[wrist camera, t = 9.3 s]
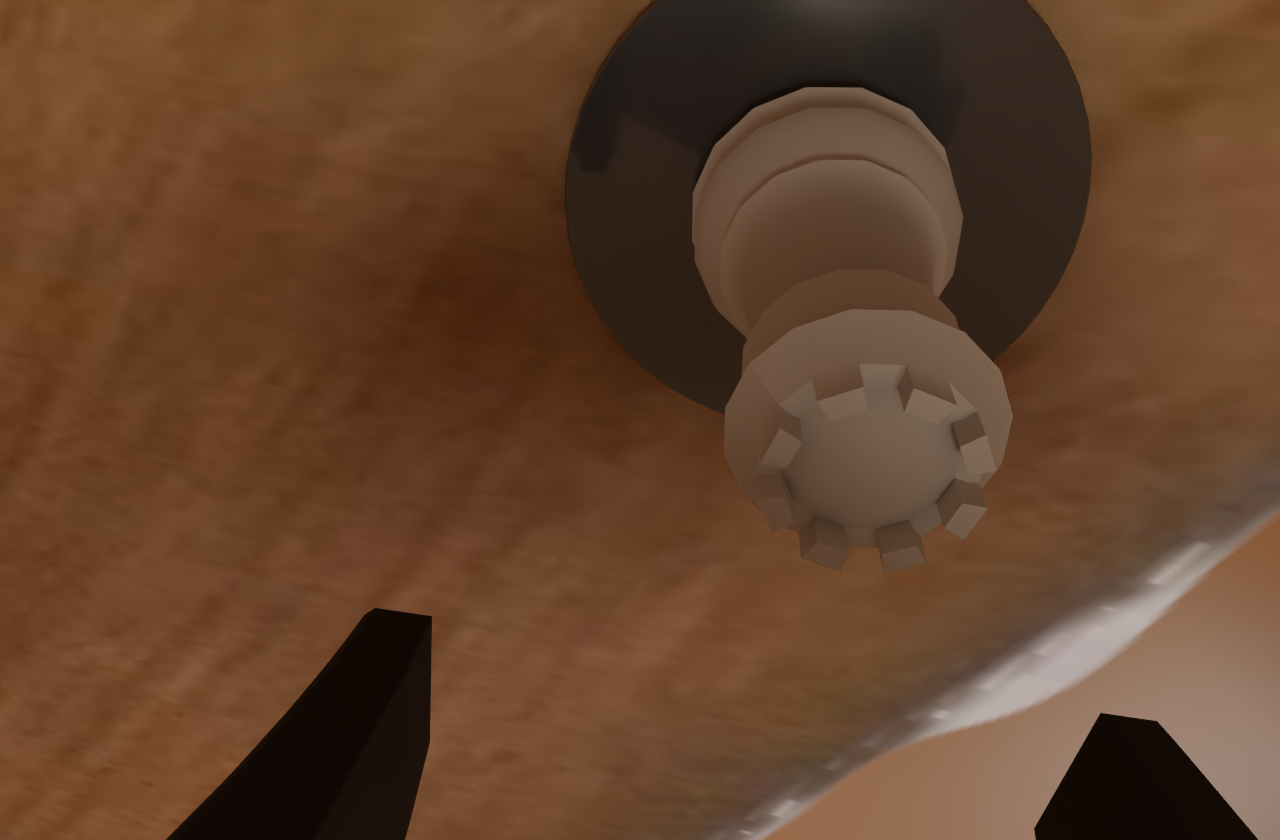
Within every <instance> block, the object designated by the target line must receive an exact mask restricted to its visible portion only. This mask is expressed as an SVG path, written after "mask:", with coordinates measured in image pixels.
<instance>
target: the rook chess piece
mask: <svg viewBox="0 0 1280 840" xmlns="http://www.w3.org/2000/svg"><path fill="white" fill-rule="evenodd" d="M962 222H963V214H962V210H961V206H960V203H959V199H958V195H957V191H956V188H955V184H954V180H953V177H952V173H951V169H950V166H949V163H948V159H947V155H946V152H945V148H944V147H943V146H942V145H941V143H940V142H939V141H938V140H937V139H936V138H935V137H934V135H933V134H932V133H931V132H930V131H929V130H928V129H927V127H926V126H925V125H924V124H923V123H922V122H921V120H920V119H919V118H918V117H917V116H916V115H915V114H914V112H913V111H912V110H911V109H909V108H907V107H904V106H902V105H900V104H898V103H895V102H893V101H891V100H889V99H886V98H884V97H882V96H879V95H877V94H875V93H873V92H870V91H868V90H866V89H864V88H839V87H805V88H803V89H800V90H798V91H795V92H793V93H790V94H788V95H785V96H783V97H780V98H778V99H775V100H773V101H770V102H768V103H765V104H763V105H760V106H758V107H755V108H753V109H752V110H751V111H750V112H749V113H748V114H747V115H746V116H745V117H744V118H743V119H742V120H741V121H739V122H738V123H737V124H736V125H735V126H734V127H733V128H732V129H731V130H730V131H729V132H728V133H727V134H726V135H725V136H724V137H723V138H722V139H720V140H719V141H718V142H717V143H716V144H715V145H714V147H713V149H712V151H711V153H710V156H709V158H708V160H707V162H706V164H705V167H704V169H703V171H702V173H701V176H700V178H699V180H698V182H697V184H696V187H695V189H694V191H693V217H692V242H693V244H694V246H695V263H696V266H697V268H698V270H699V273H700V275H701V277H702V280H703V282H704V284H705V287H706V289H707V291H708V294H709V296H710V298H711V301H712V303H713V305H714V306H715V308H716V309H717V310H718V312H719V313H720V314H722V315H723V316H724V317H725V318H726V319H727V320H728V321H729V322H730V323H731V324H732V325H733V326H734V327H735V328H736V329H737V330H738V331H740V332H741V333H742V334H743V335H744V336H745V337H746V338H747V341H746V343H745V345H744V347H743V362H742V378H741V379H740V381H739V383H738V385H737V387H736V389H735V390H734V392H733V394H732V396H731V398H730V400H729V402H728V403H727V405H726V407H725V426H724V451H723V454H724V456H725V458H726V460H727V462H728V464H729V467H730V469H731V471H732V473H733V475H734V477H735V480H736V482H737V484H738V486H739V488H740V490H741V493H742V494H743V495H744V496H745V497H746V498H747V499H748V500H750V501H751V502H752V503H753V504H754V505H755V506H757V507H758V508H759V509H760V510H761V511H762V512H763V514H764V516H765V518H766V520H767V523H768V525H769V527H770V529H771V531H772V533H773V532H775V531H777V530H780V529H782V528H784V527H786V528H788V529H791V530H794V531H796V532H799V538H800V549H801V558H803V559H806V560H809V561H811V562H814V563H817V564H820V565H822V566H825V567H828V568H831V569H833V570H836V571H839V572H840V571H841V569H842V566H843V564H844V561H845V559H846V556H847V554H848V552H847V546H855V547H879V550H880V555H881V561H882V566H883V571H884V574H885V573H889V572H893V571H897V570H901V569H905V568H909V567H913V566H917V565H921V564H925V563H927V560H926V556H925V552H924V548H923V544H922V540H921V536H922V535H924V534H926V533H927V532H929V531H930V530H932V529H933V528H935V527H937V526H938V525H940V524H941V523H943V527H944V529H946V530H948V531H949V532H951V533H953V534H954V535H956V536H958V537H959V538H961V539H963V540H964V539H965V538H966V537H967V535H968V534H969V533H970V532H971V530H972V529H973V528H974V526H975V525H976V524H977V523H978V521H979V520H980V519H981V517H982V516H983V515H984V514H985V512H986V511H987V510H988V509H989V508H988V505H987V502H986V499H985V496H984V494H983V491H982V489H983V487H984V486H985V485H986V483H987V482H988V481H989V479H990V478H991V477H992V476H993V474H994V473H995V472H996V471H997V469H998V468H999V466H1000V465H1001V464H1002V462H1003V458H1004V453H1005V449H1006V445H1007V440H1008V436H1009V432H1010V427H1011V423H1012V418H1013V414H1012V411H1011V407H1010V403H1009V400H1008V396H1007V392H1006V389H1005V385H1004V381H1003V378H1002V374H1001V370H1000V369H999V368H998V367H997V366H996V365H995V364H994V363H993V362H992V361H991V360H990V358H989V357H988V356H987V355H986V354H985V353H984V352H983V351H982V350H981V349H980V348H979V347H978V346H977V345H976V344H975V343H974V341H973V340H972V339H971V338H970V337H969V336H968V335H967V334H966V333H965V332H963V331H960V330H959V327H958V324H957V320H956V317H955V315H954V314H953V313H952V312H951V311H950V310H949V309H948V308H947V307H946V306H945V305H944V304H943V303H942V302H941V301H940V300H939V298H938V297H939V296H940V294H941V293H942V291H943V290H944V288H945V287H946V285H947V283H948V282H949V280H950V279H951V277H952V276H953V272H954V268H955V263H956V257H957V251H958V245H959V240H960V234H961V228H962Z"/></svg>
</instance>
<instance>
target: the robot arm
mask: <svg viewBox="0 0 1280 840" xmlns="http://www.w3.org/2000/svg"><path fill="white" fill-rule="evenodd" d="M431 637H432V616H426V615H419V614H412V613H406V612H399V611H392V610H385V609H378V608H375V609H373V610H371V611H370V612H368V613H366V614H365V615H364V616H363V617H362V619H361V620H360V622H359V623H358V624H357V626H356V627H355V628H354V630H353V631H352V632H351V634H350V635H349V636H348V638H347V639H346V640H345V642H344V643H343V644H342V646H341V647H340V648H339V649H338V651H337V652H336V653H335V655H334V656H333V657H332V658H331V660H330V661H329V662H328V663H327V665H326V666H325V667H324V668H323V670H322V671H321V672H320V673H319V674H318V676H317V677H316V678H315V679H314V681H313V682H312V683H311V684H310V685H309V686H308V688H307V689H306V690H305V691H304V692H303V694H302V695H301V696H300V697H299V698H298V699H297V701H296V702H295V703H294V704H293V705H292V707H291V708H290V709H289V710H288V711H287V712H286V714H285V715H284V716H283V717H282V718H281V719H280V720H279V721H278V722H277V724H276V725H275V726H274V727H273V728H272V729H271V730H270V731H269V732H268V734H267V735H266V736H265V737H264V738H263V739H262V740H261V741H260V742H259V744H258V745H257V746H256V747H255V748H254V749H253V750H252V751H251V752H250V754H249V755H248V756H247V757H246V758H245V759H244V760H243V761H242V762H241V764H240V765H239V766H238V767H237V768H236V769H235V770H234V771H233V772H232V773H231V774H230V775H229V776H228V777H227V778H226V780H225V781H224V782H223V783H222V784H221V785H220V786H219V787H218V788H217V789H216V790H215V791H214V792H213V793H212V794H211V795H210V796H209V797H208V798H207V799H206V800H205V801H204V802H203V803H202V804H201V805H200V806H199V807H198V808H197V809H196V810H195V811H194V812H193V813H192V814H191V815H190V816H189V817H188V818H187V819H186V820H185V821H184V822H183V823H182V824H181V825H180V826H179V827H178V828H177V829H176V830H175V831H174V832H173V833H172V834H171V835H170V836H169V837H168V838H167V839H166V840H405V837H406V834H407V830H408V826H409V823H410V819H411V815H412V811H413V807H414V803H415V799H416V795H417V792H418V788H419V784H420V779H421V775H422V771H423V767H424V763H425V759H426V755H427V751H428V747H429V743H430V700H431ZM1034 830H1035V836H1036V840H1258V839H1257V838H1256V837H1255V835H1254V834H1253V833H1252V832H1251V831H1250V829H1249V828H1248V827H1247V826H1246V825H1245V823H1244V822H1243V821H1242V820H1241V819H1240V818H1239V816H1238V815H1237V814H1236V813H1235V812H1234V810H1233V809H1232V808H1231V807H1230V806H1229V804H1228V803H1227V802H1226V801H1225V800H1224V799H1223V797H1222V796H1221V795H1220V794H1219V793H1218V791H1217V790H1216V789H1215V788H1214V787H1213V785H1212V784H1211V783H1210V782H1209V781H1208V780H1207V778H1206V777H1205V776H1204V775H1203V774H1202V772H1201V771H1200V770H1199V769H1198V768H1197V766H1195V764H1194V763H1193V762H1192V761H1191V759H1190V758H1189V757H1188V756H1187V755H1186V754H1185V752H1184V751H1183V750H1182V749H1181V748H1180V747H1179V745H1178V744H1177V743H1176V742H1175V741H1174V740H1173V739H1172V738H1171V736H1170V735H1169V734H1168V733H1167V732H1166V731H1165V730H1164V728H1163V727H1162V726H1161V725H1160V724H1159V723H1158V722H1157V721H1152V720H1145V719H1138V718H1130V717H1124V716H1117V715H1111V714H1103V713H1100V715H1099V717H1098V719H1097V720H1096V722H1095V724H1094V726H1093V727H1092V729H1091V731H1090V732H1089V734H1088V736H1087V738H1086V740H1085V741H1084V743H1083V745H1082V747H1081V748H1080V750H1079V752H1078V753H1077V755H1076V757H1075V759H1074V760H1073V762H1072V764H1071V766H1070V767H1069V769H1068V771H1067V773H1066V775H1065V776H1064V778H1063V779H1062V781H1061V783H1060V785H1059V787H1058V788H1057V790H1056V792H1055V794H1054V795H1053V797H1052V799H1051V800H1050V802H1049V804H1048V806H1047V807H1046V809H1045V811H1044V813H1043V814H1042V816H1041V818H1040V819H1039V821H1038V823H1037V825H1036V827H1035V828H1034Z"/></svg>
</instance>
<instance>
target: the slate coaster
mask: <svg viewBox="0 0 1280 840" xmlns="http://www.w3.org/2000/svg"><path fill="white" fill-rule="evenodd" d="M805 87H839V88H864V89H866V90H868V91H870V92H873V93H875V94H877V95H879V96H882V97H884V98H886V99H889V100H891V101H893V102H895V103H898V104H900V105H902V106H904V107H907V108H909V109H911V110H912V111H913V112H914V114H915V115H916V116H917V117H918V118H919V119H920V120H921V122H922V123H923V124H924V125H925V126H926V127H927V129H928V130H929V131H930V132H931V133H932V134H933V135H934V137H935V138H936V139H937V140H938V141H939V142H940V143H941V145H942V146H943V147H944V148H945V152H946V155H947V159H948V163H949V166H950V169H951V173H952V177H953V180H954V184H955V188H956V191H957V195H958V199H959V203H960V206H961V210H962V214H963V222H962V228H961V234H960V240H959V245H958V251H957V257H956V263H955V268H954V272H953V276H952V277H951V279H950V280H949V282H948V283H947V285H946V287H945V288H944V290H943V291H942V293H941V294H940V296H939V297H938V298H939V300H940V301H941V302H942V303H943V304H944V305H945V306H946V307H947V308H948V309H949V310H950V311H951V312H952V313H953V314H954V315H955V317H956V320H957V324H958V327H959V330H960V331H963V332H965V333H966V334H967V335H968V336H969V337H970V338H971V339H972V340H973V341H974V343H975V344H976V345H977V346H978V347H979V348H980V349H981V350H982V351H983V352H984V353H985V354H986V355H987V356H988V357H989V358H990V360H991V361H994V360H995V359H996V358H997V357H998V356H999V355H1001V354H1002V353H1003V352H1004V351H1005V350H1006V349H1007V348H1008V347H1009V346H1010V345H1011V344H1012V343H1013V342H1014V341H1015V340H1016V339H1017V338H1018V337H1019V336H1020V335H1021V334H1022V333H1023V332H1024V330H1025V329H1026V328H1027V327H1028V326H1029V324H1030V323H1031V322H1032V321H1033V320H1034V318H1035V317H1036V316H1037V315H1038V314H1039V312H1040V311H1041V310H1042V308H1043V307H1044V305H1045V304H1046V302H1047V300H1048V299H1049V297H1050V296H1051V294H1052V293H1053V291H1054V290H1055V288H1056V287H1057V285H1058V283H1059V282H1060V279H1061V277H1062V275H1063V273H1064V271H1065V269H1066V267H1067V265H1068V263H1069V261H1070V259H1071V257H1072V255H1073V252H1074V249H1075V246H1076V243H1077V240H1078V237H1079V234H1080V231H1081V228H1082V225H1083V222H1084V218H1085V212H1086V207H1087V202H1088V196H1089V191H1090V179H1091V158H1092V153H1091V143H1090V132H1089V122H1088V117H1087V113H1086V109H1085V105H1084V101H1083V98H1082V94H1081V90H1080V86H1079V84H1078V82H1077V79H1076V77H1075V74H1074V72H1073V70H1072V67H1071V65H1070V63H1069V60H1068V58H1067V56H1066V54H1065V52H1064V51H1063V49H1062V47H1061V46H1060V44H1059V43H1058V41H1057V40H1056V38H1055V36H1054V35H1053V33H1052V32H1051V30H1050V28H1049V27H1048V25H1047V24H1046V23H1045V22H1044V21H1043V19H1042V18H1041V17H1040V16H1039V15H1038V14H1037V13H1036V11H1035V10H1034V9H1033V8H1032V7H1031V6H1030V5H1029V3H1028V2H1027V1H1026V0H654V1H653V2H652V3H651V4H650V5H649V6H648V7H647V8H646V9H645V10H644V11H642V12H641V13H640V14H639V16H638V17H637V18H636V19H635V20H634V21H633V23H632V24H631V25H630V26H629V27H628V29H627V30H626V31H625V32H624V33H623V35H622V36H621V37H620V38H619V39H618V41H617V42H616V43H615V45H614V47H613V48H612V50H611V51H610V53H609V54H608V56H607V58H606V59H605V61H604V62H603V64H602V65H601V67H600V69H599V70H598V72H597V74H596V76H595V78H594V80H593V83H592V85H591V87H590V89H589V91H588V93H587V96H586V98H585V100H584V102H583V104H582V107H581V109H580V112H579V116H578V119H577V122H576V126H575V129H574V132H573V135H572V139H571V143H570V149H569V155H568V161H567V167H566V173H565V213H566V222H567V231H568V238H569V242H570V246H571V250H572V254H573V258H574V262H575V266H576V269H577V271H578V274H579V276H580V279H581V281H582V284H583V286H584V289H585V291H586V294H587V296H588V297H589V299H590V301H591V303H592V304H593V306H594V308H595V310H596V312H597V313H598V315H599V317H600V319H601V320H602V322H603V323H604V324H605V326H606V327H607V328H608V330H609V331H610V332H611V334H612V335H613V336H614V338H615V339H616V340H617V342H618V343H619V344H620V345H621V346H622V347H623V348H624V349H625V350H626V351H627V352H628V353H629V354H630V355H631V356H632V357H633V358H634V359H635V360H636V362H637V363H638V364H640V365H641V366H642V367H643V368H645V369H646V370H647V371H648V372H650V373H651V374H652V375H653V376H654V377H656V378H657V379H658V380H659V381H661V382H662V383H664V384H665V385H667V386H669V387H670V388H672V389H673V390H675V391H677V392H678V393H680V394H682V395H683V396H685V397H687V398H689V399H691V400H693V401H695V402H697V403H699V404H702V405H704V406H706V407H708V408H710V409H713V410H716V411H719V412H722V413H725V407H726V405H727V403H728V402H729V400H730V398H731V396H732V394H733V392H734V390H735V389H736V387H737V385H738V383H739V381H740V379H741V378H742V362H743V347H744V345H745V343H746V341H747V338H746V337H745V336H744V335H743V334H742V333H741V332H740V331H738V330H737V329H736V328H735V327H734V326H733V325H732V324H731V323H730V322H729V321H728V320H727V319H726V318H725V317H724V316H723V315H722V314H720V313H719V312H718V310H717V309H716V308H715V306H714V305H713V303H712V301H711V298H710V296H709V294H708V291H707V289H706V287H705V284H704V282H703V280H702V277H701V275H700V273H699V270H698V268H697V266H696V263H695V246H694V244H693V242H692V217H693V191H694V189H695V187H696V184H697V182H698V180H699V178H700V176H701V173H702V171H703V169H704V167H705V164H706V162H707V160H708V158H709V156H710V153H711V151H712V149H713V147H714V145H715V144H716V143H717V142H718V141H719V140H720V139H722V138H723V137H724V136H725V135H726V134H727V133H728V132H729V131H730V130H731V129H732V128H733V127H734V126H735V125H736V124H737V123H738V122H739V121H741V120H742V119H743V118H744V117H745V116H746V115H747V114H748V113H749V112H750V111H751V110H752V109H753V108H755V107H758V106H760V105H763V104H765V103H768V102H770V101H773V100H775V99H778V98H780V97H783V96H785V95H788V94H790V93H793V92H795V91H798V90H800V89H803V88H805Z"/></svg>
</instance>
